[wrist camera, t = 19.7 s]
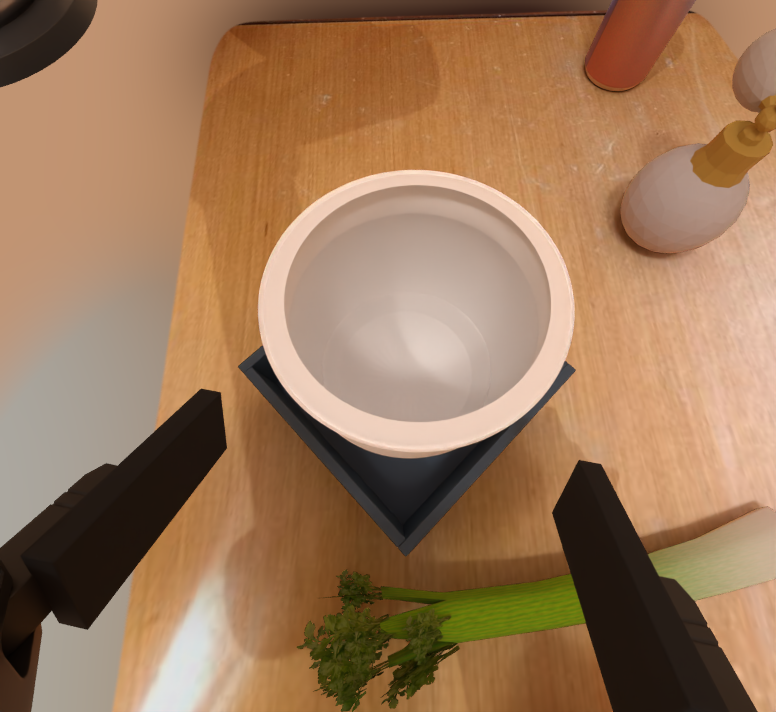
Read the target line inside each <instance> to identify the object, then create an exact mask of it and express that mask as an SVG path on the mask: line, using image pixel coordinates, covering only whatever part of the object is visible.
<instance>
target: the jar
mask: <svg viewBox="0 0 776 712" xmlns="http://www.w3.org/2000/svg"><path fill="white" fill-rule="evenodd" d="M574 314H575V311H574V296H573V290H572V285H571V281H570V277H569V274H568V271H567V268H566V265H565V263H564V260H563V258H562V256H561V254H560V252H559V250H558V248H557V247H556V245H555V243H554V242H553V240H552V239H551V237H550V236H549V234H548V233H547V232H546V231H545V229H544V228H543V227H542V226H541V225H540V223H539V222H538V221H537V220H536V219H535V218H534V217H533V216H532V215H531V214H530V213H529V212H528V211H526V210H525V209H524V208H523V207H522V206H520V205H519V204H518V203H516V202H515V201H514V200H512V199H511V198H509V197H508V196H506V195H504V194H503V193H501V192H499V191H497V190H496V189H494V188H492V187H490V186H487V185H485V184H483V183H480V182H478V181H475V180H472V179H469V178H466V177H463V176H459V175H455V174H450V173H445V172H438V171H429V170H401V171H392V172H385V173H380V174H375V175H371V176H367V177H364V178H361V179H358V180H355V181H352V182H350V183H347V184H345V185H343V186H341V187H339V188H337V189H335V190H333V191H331V192H329V193H328V194H326V195H324V196H323V197H321V198H320V199H318V200H317V201H316V202H314V203H313V204H312V205H310V206H309V207H308V208H307V209H305V210H304V211H303V212H302V213H301V214H300V215H299V216H298V217H297V218H296V219H295V220H294V221H293V222H292V223H291V224H290V226H289V227H288V228H287V229H286V231H285V232H284V233H283V235H282V236H281V238H280V239H279V241H278V242H277V244H276V246H275V247H274V249H273V251H272V253H271V255H270V257H269V259H268V262H267V264H266V267H265V270H264V273H263V277H262V280H261V285H260V291H259V299H258V321H259V329H260V335H261V339H262V343H263V347H264V350H265V353H266V356H267V358H268V360H269V363H270V365H271V367H272V369H273V371H274V373H275V374H276V376H277V378H278V379H279V381H280V383H281V384H282V385H283V387H284V388H285V390H286V391H287V392H288V393H289V395H290V396H291V397H292V398H293V399H294V400H295V401H296V402H297V403H298V404H299V405H300V406H301V407H302V408H303V409H304V410H305V411H306V412H307V413H308V414H310V415H311V416H312V417H313V418H315V419H316V420H317V421H319V422H320V423H322V424H323V425H325V426H326V427H328V428H330V429H331V430H333V431H335V432H337V433H338V434H339V435H340V436H342V437H343V438H345V439H346V440H348V441H349V442H351V443H353V444H355V445H356V446H358V447H361V448H363V449H365V450H368V451H370V452H373V453H376V454H380V455H384V456H389V457H395V458H424V457H430V456H435V455H440V454H443V453H446V452H449V451H452V450H455V449H457V448H460V447H464V446H467V445H471V444H474V443H477V442H479V441H482V440H484V439H486V438H488V437H490V436H492V435H494V434H496V433H498V432H500V431H502V430H503V429H505V428H507V427H508V426H510V425H511V424H513V423H514V422H516V421H517V420H518V419H520V418H521V417H522V416H524V415H525V414H526V413H527V412H528V411H529V410H530V409H532V408H533V407H534V406H535V405H536V404H537V403H538V401H539V400H540V399H541V398H542V397H543V396H544V395H545V393H546V392H547V391H548V389H549V388H550V387H551V385H552V384H553V382H554V381H555V379H556V377H557V376H558V374H559V372H560V370H561V368H562V366H563V364H564V361H565V359H566V356H567V354H568V351H569V347H570V344H571V340H572V335H573V328H574Z"/></svg>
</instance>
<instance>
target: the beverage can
mask: <svg viewBox="0 0 776 712" xmlns="http://www.w3.org/2000/svg"><path fill="white" fill-rule="evenodd" d="M695 1H696V0H612V2H611V5H610V7H609V9H608V11H607V13H606V15H605V17H604V19H603V21H602V23H601V25H600V27H599V30H598V32H597V34H596V36H595V38H594V40H593V42H592V44H591V46H590V49H589V51H588V53H587V55H586V58H585V69H586V73H587V76H588V78H589V79H590V80H591V81H592V82H593V83H594V84H595V85H597V86H598V87H600V88H603V89H605V90H609V91H624V90H628V89H630V88H632V87H634V86H636V85H637V84H639V83H640V82H642V81H643V80H644V79H645V77H646V76H647V74H648V73H649V71H650V70H651V68H652V67H653V65H654V64H655V62H656V61H657V59H658V58H659V56H660V55H661V53H662V51H663V50H664V48H665V47H666V45H667V44H668V42H669V41H670V39H671V38H672V36H673V35H674V33H675V32H676V30H677V28H678V27H679V25H680V24H681V22H682V21H683V19H684V18H685V16H686V15H687V13H688V12H689V10H690V9H691V7H692V5H693V4H694V2H695Z"/></svg>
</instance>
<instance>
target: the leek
mask: <svg viewBox="0 0 776 712" xmlns="http://www.w3.org/2000/svg"><path fill="white" fill-rule="evenodd" d="M648 556H649V558H650V560H651V562H652V563H653V565H654V567H655V569H656V571H657V573H658V575H659V576H661V577H666V578H671V579H675V580H676V581H677V582H678V583H679V584H680V585H681V586H682V587H683V589H684V590H685V591H686V592H687V593H688V594H689V595H690V596H691V598H692V599H693V600H694V601H695V600H699V599H703V598H707V597H711V596H715V595H719V594H723V593H727V592H731V591H735V590H738V589H742V588H745V587H749V586H753V585H756V584H760V583H763V582H767V581H770V580H774V579H776V511H774V510H773V509H771V508H769V507H768V506H767V507H763V508H759V509H755V510H753V511H751V512H749V513H747V514H745V515H743V516H741V517H739V518H737V519H735V520H732V521H730V522H728V523H726V524H724V525H722V526H720V527H718V528H716V529H714V530H712V531H710V532H708V533H706V534H704V535H702V536H700V537H698V538H696V539H693V540H690V541H687V542H684V543H681V544H678V545H674V546H671V547H668V548H665V549H662V550H658V551H655V552H652V553H649V554H648ZM346 574H348V571H347V569H346V570H344V571H343V572H342V575H340V576H336V577H338V578H339V577H340V579H341V580H342V581H340V584H341V586H337V587H338V588H342V589H341V590H340V591H339V594H338V595H339V596H335V597H343V598H341V601H343V603H344V605H345V606H342V607H343V608H341V609H343V610H345V611H343V612H342V613H344V614H343V615H342V614H341V613H338V614H337V615H336V616H335V615H331V614H329V615H328V616H327V617H326V615H325V616H324V617H323V619H324V620H325V621H324V622H325V629H324V630H323V626H321V628H320V629H319V630H318V636H317V639H319V637H320V636H322V635H324V634H325V631H326V632H327V634H328V636H329V638H328V639H327V638H323V639H322V641H319V640H317V639H316V638H315V637H314V630H315V625H314V623H313V625H312V622H311V621H309V622H308V624H307V625H306V628H305V632H304V634H305V636H306V637H308V639H307V638H306V639H304V642H305V641H306V642H305V643H304V644H303V645H301V646H297V648H298V649H303V647H305V646H307V648H310V649H312V651H311V652H310V657H311V656H312V659H314V660H319V659H321V661H318V662H314V663H313V665H312V666H311V667H310V668H312V669H314V668H317V667H318V665H319V664H320V665H319V666H320V667H319V670H318V676H319V677H318V679H319V680H318V684H320V683H321V685H320V686H322V687H321V688H320V689H324V688H326V689H324V690H325V691H326V692H324V690H323V692H324V693H323V694H325V693H327V692H328V694H327V697H330V696H333V695H334V694H336V693H337V694H336V695H334V697H337V696H338V697H337V698H336V701H337V703H336V706H338V705H342V704H343V705H342V709H341V712H343V711H349V710H350V709H351V707H352V706H353V704H354V703H355V706H354V707H353V709H352V712H353V711H354V710H355V709H356V708H357V706H359V704H360V702H359V699H361V698H362V697H363V696H364V695H365V694H366V691H365V692H364V693H363V694H361V695H359V694H360V692H362V691H364V690H365V689H364V690H362V691H361V688H360V687H364V686H365V685H367V683H366V681H367V682H368V681H369V680H370V679H372V678H374V677H375V676H376V673H379V672H380V671H382V670H383V669H386V668H388V667H389V668H390V667H393V666H396V665H399V666H401V665H402V666H401V667H402V668H401V667H400V669H399V668H397V669H396V670H395V671H394V672H393V675H394V676H393V677H394V680H393V681H391V682H390V684H389V686H390V685H391V684H393V683H394V682H395V683H394V684H393V685H392V686H390V688H391V689H390V690H389V691H388V692H387V693H389V692H390V693H389V694H388V695H387V696H389V695H390V696H389V698H388V699H385V700H384V701H383V702H382V704H383V703H384V702H385V701H387V700H388V702H390V700H391V702H390V703H389V706H390V708H393V709H395V708H396V706H397V705H396V704H398V700H397V699H396V695H397V693H398V694H400V696H405V692H406V693H407V699H409V697H412V696H413V695H414V694H415V692H416V691H417V690H420V688H421V687H422V686H423V685H425V684H426V685H428V684H431V682H432V683H433V682H434V680H435V677H433V675H434V673H433V672H434V671H436V670H438V664H439V662H441V661H442V660H444V659H445V658H447V657H448V656H450V655H451V654H453V653H455V652H456V651H457V650H459V649H460V648H459V646H456V647H455V648H454V649H452V650H451V651H449V652H448V653H445V654H443V655H440V654H441V653H442V652H443V651H444V650H447V649H449V650H450V649H451V648H453V647H454V646H455V645H456V644H457V643H461V642H468V641H475V640H482V639H488V638H495V637H502V636H509V635H516V634H522V633H529V632H536V631H543V630H550V629H556V628H561V627H567V626H573V625H579V624H584V623H586V621H585V618H584V615H583V612H582V608H581V605H580V602H579V599H578V595H577V592H576V589H575V586H574V582H573V579H572V576H571V574H568V575H563V576H559V577H555V578H550V579H546V580H542V581H537V582H530V583H521V584H512V585H504V586H495V587H487V588H478V589H469V590H461V591H452V592H433V591H423V590H413V589H403V588H394V587H384V586H381V588H379V587H374V586H372V585H371V584H372V582H371V581H370V582H369V578H370V575H369V574H366V575H364V576H362V575H361V574H360V575H359V574H358V573H357V572H353V575H352V576H351V575H348V577H345V576H346ZM351 577H352V579H353V580H352V581H351V580H350V579H349V580H347V578H351ZM346 580H347V581H346ZM365 580H366V581H367V582H366V581H365ZM351 582H354V583H351ZM349 583H351V585H349ZM358 585H359V586H358ZM369 585H371V586H369ZM342 586H344V587H342ZM350 587H351V588H350ZM360 587H361V589H360ZM371 587H373V588H371ZM373 590H375V591H382V593H380V592H379V593H374V591H373ZM368 591H370V592H372V591H373V592H372V594H369V593H368ZM361 593H362V594H361ZM366 594H367V595H366ZM343 595H345V596H343ZM356 595H357V596H356ZM364 595H365V596H364ZM376 595H377V596H381V597H375V596H376ZM324 598H325V597H324ZM326 598H329V597H326ZM330 598H331V597H330ZM366 599H371V600H372V599H378V600H383V599H391V600H402V601H410V602H417V603H425V604H432V605H428V606H425V607H421V608H418V609H415V610H411V611H408V612H404V613H401V614H398V615H394V616H391V617H389V614H387V615H385V616H382V617H380V618H377V619H375V616H373V617H371V614H370V609H369V608H368V607H367V608H368V609H367V608H365V610H364V611H363V612H362V613H361V612H359V611H358V613H357V612H355V610H356V609H355V607H356V608H357V609H358V608H361V605H360V604H362V602H364V603H367V604H368V602H370V604H371V605H372V604H374V602H373V601H369V600H366ZM351 600H352V601H351ZM349 601H351V603H349ZM360 601H361V602H360ZM365 611H366V612H365ZM366 617H367V618H366ZM383 617H385V618H383ZM368 618H369V619H368ZM329 631H330V633H329ZM376 631H379V632H378V633H377V634H376ZM329 634H330V635H333V636H331V637H330V635H329ZM333 637H334V639H333V640H332V641H331V639H332V638H333ZM369 638H371V639H369ZM391 638H394V639H407V640H406V641H407V642H408V641H410V640H411V641H410V643H409V644H408V645H407V646H406V647H405V648H404V649H402V650H400V651H398V652H396V653H394V654H392V655H389V656H388V660H387V661H385V662H383V663H380V664H378V665H376V666H377V667H379V666H381V665H383V664H384V665H383V666H382V667H379V668H377V667H376V666H374V667H375V668H373V667H371V668H372V669H370V668H369V667H370V665H371V663H372V666H373V663H375V660H380V657H381V655H382V651H381V652H378V653H376V650H382V646H384V648H387V647H388V645H389V644H388V643H386V644H383V643H385V642H386V641H388V642H389V639H391ZM309 639H310V640H309ZM312 640H314V641H316V642H313V641H312ZM342 640H345V641H342ZM377 640H378V641H377ZM330 641H331V642H330ZM317 642H321V644H318V643H317ZM328 644H331V646H330V648H326V647H327V645H328ZM452 644H453V645H452ZM455 650H456V651H455ZM441 651H442V652H441ZM332 652H333V653H332ZM338 652H339V653H338ZM438 652H439V653H440V652H441V653H440V654H439V655H440V656H439V655H437V653H438ZM433 653H434V654H433ZM436 655H437V656H436ZM434 656H435V657H434ZM443 656H444V657H443ZM441 658H442V659H441ZM312 659H311V660H312ZM439 659H441V660H440V661H439V662H437V661H438V660H439ZM349 660H350V661H349ZM387 662H389V663H387ZM385 663H387V664H388V666H387V664H385ZM437 663H438V664H437ZM436 664H437V665H436ZM434 665H435V666H434ZM385 666H386V667H385ZM383 667H385V668H383ZM417 667H418V668H417ZM310 668H309V669H310ZM376 668H377V669H378V670H377V669H376ZM381 668H382V669H381ZM373 669H374V670H373ZM382 673H383V672H381V673H379V674H377V676H378V675H381V674H382ZM330 675H331V676H330ZM373 675H374V676H373ZM428 675H429V676H428ZM329 676H330V677H329ZM427 676H428V677H427ZM328 677H329V678H328ZM327 678H328V679H330V680H331V681H328V680H327ZM364 681H365V682H364ZM409 681H410V682H409ZM428 681H429V683H428ZM409 683H410V684H409ZM326 685H328V686H326ZM406 685H407V689H405V690H403V691H402V692H399V690H400V689H402V688H404V687H405V686H406ZM408 685H409V688H408ZM359 688H360V691H359ZM399 688H400V689H399ZM330 689H331V690H330ZM366 689H367V688H366ZM398 689H399V690H398ZM318 690H319V689H318ZM357 690H358V693H357V692H356V691H357ZM315 691H317V690H315ZM313 692H314V691H313ZM387 693H386V694H387ZM395 693H396V694H395ZM394 694H395V696H394ZM321 695H322V694H321ZM355 695H356V696H357V697H356V696H355ZM384 695H385V694H384ZM384 695H383V696H384ZM383 696H382V697H383ZM327 697H326V698H327ZM334 697H333V698H334ZM357 698H358V700H357ZM392 698H393V699H392ZM356 700H357V701H356Z"/></svg>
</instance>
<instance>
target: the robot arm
mask: <svg viewBox="0 0 776 712" xmlns="http://www.w3.org/2000/svg"><path fill="white" fill-rule="evenodd" d="M33 2H34V0H0V28H1V27H3V26H5V25H7V24H8V23H10V22H11V21H13V20H14V19H16V18H17V17H18V16H20V15H21V14H22V13H23V12H24V11H26V10H27V9H28V8H29V6H30V5H31V4H32V3H33ZM226 449H227V444H226V435H225V427H224V418H223V409H222V400H221V392H216V391H210V390H205V389H200V390H199V391H198V392H197V393H196V394H195V395H194V396H193V397H192V398H190V399H189V400H188V401H187V402H186V403H185V404H184V405H183V406H182V407H181V408H180V409H179V410H177V411H176V412H175V413H174V414H173V415H172V416H171V417H170V418H169V419H168V420H167V421H166V422H164V423H163V424H162V425H161V426H160V427H159V428H158V429H157V430H156V431H155V432H154V433H153V434H151V435H150V436H149V437H148V438H147V439H146V440H145V441H144V442H143V443H142V444H141V445H140V446H139V447H137V448H136V449H135V450H134V451H133V452H132V453H131V454H130V455H129V456H128V457H127V458H126V459H124V460H123V461H122V462H121V463H120V464H119V465H118V466H116V465H111V464H104V465H102V466H100V467H98V468H97V469H95V470H93V471H91V472H89V473H87V474H85V475H84V476H83V477H82V478H81V479H80V480H78V481H77V482H76V483H75V484H74V485H73V486H72V487H70V488H69V489H68V492H65V493H63V494H62V495H61V496H60V497H59V498H58V499H56V500H55V501H54V504H53V505H49V506H48V507H47V508H46V509H45V510H44V511H43V512H41V513H40V514H39V515H38V516H37V517H36V518H34V519H33V520H32V521H31V522H30V523H29V524H28V525H26V526H25V527H24V528H23V529H22V530H21V531H19V532H18V533H17V534H16V535H15V536H14V537H12V538H11V539H10V540H9V541H8V542H7V543H6V544H4V545H3V546H2V547H1V548H0V712H31V708H32V702H33V694H34V687H35V680H36V673H37V665H38V659H39V651H40V644H41V637H42V627H41V622H42V621H43V620H44V619H45V618H46V616H47V615H48V614H49V613H50V612H51V611H53V613H54V615H55V617H56V618H57V620H58V622H59V623H62V624H66V625H70V626H74V627H78V628H83V629H87V630H88V629H89V627H90V626H91V625H92V623H93V622H94V621H95V619H96V618H97V617H98V616H99V614H100V613H101V611H102V610H103V609H104V608H105V606H106V605H107V604H108V602H109V601H110V600H111V599H112V597H113V596H114V595H115V593H116V592H117V591H118V589H119V588H120V587H121V586H122V584H123V583H124V582H125V580H126V579H127V578H128V576H129V575H130V574H131V573H132V571H133V570H134V569H135V567H136V566H137V565H138V563H139V562H140V561H141V559H142V558H143V557H144V556H145V554H146V553H147V552H148V550H149V549H150V548H151V546H152V545H153V544H154V543H155V541H156V540H157V539H158V537H159V536H160V535H161V533H162V532H163V531H164V530H165V528H166V527H167V526H168V524H169V523H170V522H171V520H172V519H173V518H174V516H175V515H176V514H177V513H178V511H179V510H180V509H181V507H182V506H183V505H184V503H185V502H186V501H187V500H188V498H189V497H190V496H191V494H192V493H193V492H194V490H195V489H196V488H197V486H198V485H199V484H200V483H201V481H202V480H203V479H204V477H205V476H206V475H207V473H208V472H209V471H210V470H211V468H212V467H213V466H214V464H215V463H216V462H217V460H218V459H219V458H220V457H221V455H222V454H223V453H224V451H225V450H226ZM552 514H553V517H554V520H555V524H556V527H557V530H558V533H559V537H560V540H561V543H562V546H563V550H564V553H565V556H566V559H567V563H568V566H569V569H570V572H571V576H572V579H573V582H574V586H575V589H576V592H577V595H578V599H579V602H580V605H581V608H582V612H583V615H584V618H585V621H586V625H587V628H588V631H589V634H590V638H591V641H592V644H593V647H594V651H595V654H596V657H597V661H598V664H599V667H600V670H601V674H602V677H603V680H604V683H605V687H606V690H607V693H608V696H609V700H610V703H611V706H612V709H613V712H757V710H756V708H755V706H754V705H753V703H752V701H751V699H750V698H749V696H748V694H747V692H746V691H745V689H744V687H743V685H742V684H741V682H740V680H739V678H738V677H737V675H736V673H735V671H734V670H733V668H732V666H731V664H730V662H729V661H728V659H727V657H726V655H725V654H724V652H723V650H722V648H720V647H719V646H718V641H717V640H716V638H715V636H714V634H713V633H712V631H711V629H710V628H708V627H707V622H706V620H705V619H704V617H703V615H702V613H701V612H700V610H699V608H698V606H697V605H696V603H695V601H694V600H693V599H692V598H691V596H690V595H689V594H688V593H687V592H686V591H685V590H684V589H683V587H682V586H681V585H680V584H679V583H678V582H677V581H676V580H675V579H671V578H666V577H661V576H659V575H658V573H657V571H656V569H655V567H654V565H653V563H652V562H651V560H650V558H649V556H648V554H647V552H646V550H645V548H644V546H643V544H642V542H641V540H640V538H639V536H638V535H637V533H636V531H635V529H634V527H633V525H632V523H631V521H630V519H629V517H628V515H627V513H626V511H625V509H624V508H623V506H622V504H621V502H620V500H619V498H618V496H617V494H616V492H615V490H614V488H613V486H612V484H611V482H610V481H609V479H608V477H607V475H606V473H605V471H604V469H603V467H602V465H601V464H597V463H591V462H586V461H581V460H579V461H578V463H577V465H576V467H575V469H574V471H573V472H572V474H571V476H570V478H569V480H568V482H567V484H566V486H565V488H564V490H563V492H562V494H561V496H560V498H559V500H558V502H557V504H556V506H555V508H554V510H553V512H552Z"/></svg>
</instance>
